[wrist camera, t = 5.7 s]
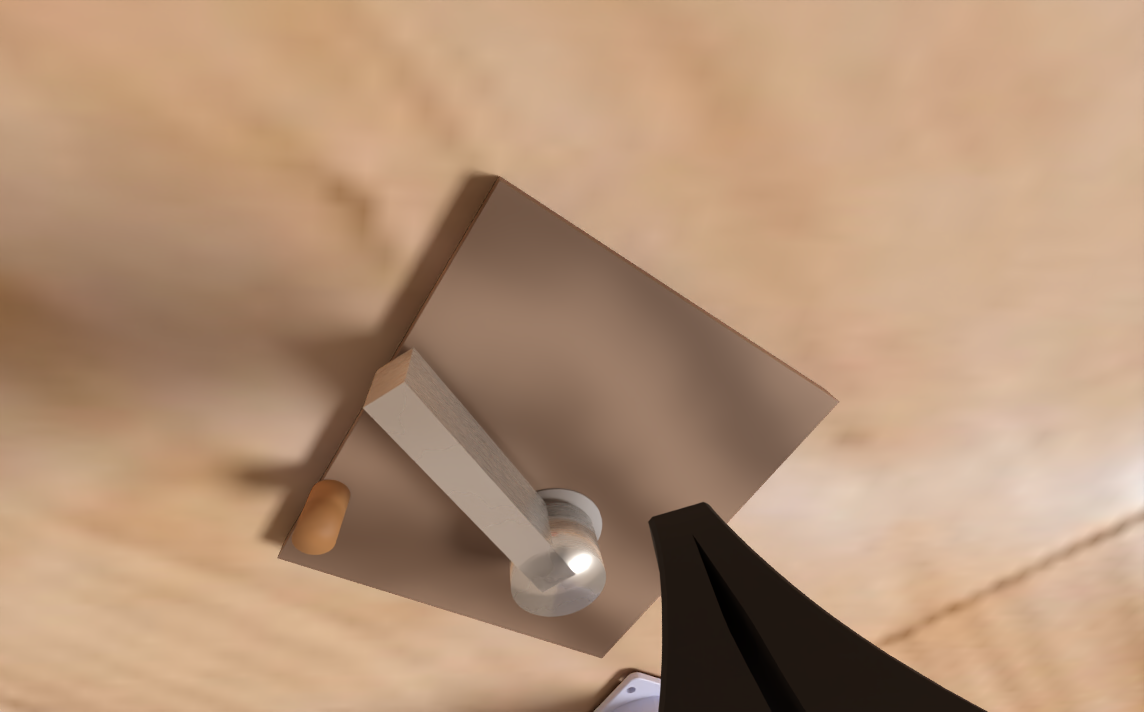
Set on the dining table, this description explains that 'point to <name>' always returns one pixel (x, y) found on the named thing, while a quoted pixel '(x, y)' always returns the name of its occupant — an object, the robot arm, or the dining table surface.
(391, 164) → the dining table surface
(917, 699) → the robot arm
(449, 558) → the base board
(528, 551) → the cap handle
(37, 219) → the dining table surface
